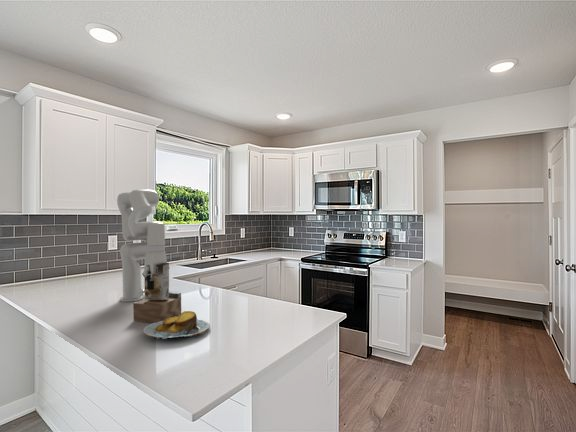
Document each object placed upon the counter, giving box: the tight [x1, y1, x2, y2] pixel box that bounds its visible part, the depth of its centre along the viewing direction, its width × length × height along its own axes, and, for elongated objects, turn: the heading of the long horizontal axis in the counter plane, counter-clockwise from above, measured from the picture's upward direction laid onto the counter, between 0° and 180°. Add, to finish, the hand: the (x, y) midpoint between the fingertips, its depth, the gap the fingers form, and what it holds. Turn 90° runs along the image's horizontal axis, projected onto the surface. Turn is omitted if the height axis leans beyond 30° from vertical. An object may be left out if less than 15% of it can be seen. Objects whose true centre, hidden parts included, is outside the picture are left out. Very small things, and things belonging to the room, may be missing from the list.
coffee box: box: [144, 262, 170, 300], centre depth 144 cm, size 9×6×16 cm
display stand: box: [132, 291, 182, 324], centre depth 144 cm, size 15×14×10 cm
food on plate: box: [142, 310, 211, 340], centre depth 126 cm, size 26×25×7 cm
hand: (156, 287), depth 144 cm, fingers closed on coffee box, 7 cm apart
